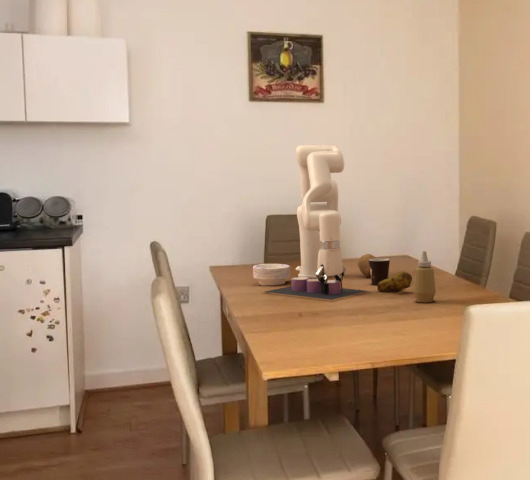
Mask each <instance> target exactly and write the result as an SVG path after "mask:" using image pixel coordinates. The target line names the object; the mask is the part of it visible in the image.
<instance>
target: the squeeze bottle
mask: <svg viewBox="0 0 530 480" xmlns="http://www.w3.org/2000/svg"><path fill="white" fill-rule="evenodd" d="M436 292H437V289H436V281H435V270H434V268H433V267H432V261H431V260H429V259H428V254H427V251H426V250H423V251H422V253H421V257H420V260H418V261H417V267H416V268H415V270H414V282H413V294H414V298H415V301H416V302H418V303H423V304H425V303H432V302H434V298H435V295H436Z"/></svg>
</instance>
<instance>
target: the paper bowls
mask: <svg viewBox="0 0 530 480" xmlns="http://www.w3.org/2000/svg"><path fill="white" fill-rule="evenodd" d="M252 277H253V279H255V280H257V282H258V283H259V285H260V286H279V285H285V283H286V282H287V279H290V278H291V265H289V264H285V263H261V264H255V265H253V266H252Z"/></svg>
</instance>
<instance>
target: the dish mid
mask: <svg viewBox="0 0 530 480" xmlns="http://www.w3.org/2000/svg"><path fill="white" fill-rule="evenodd" d="M306 285H307V292H309V293H321V283H320V281H319V280H318V278H310V279H308V280H306Z"/></svg>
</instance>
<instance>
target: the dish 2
mask: <svg viewBox="0 0 530 480" xmlns="http://www.w3.org/2000/svg"><path fill="white" fill-rule="evenodd" d="M341 281H342V280H341ZM341 281H338V280H336V279H328V281H327V283H328V289H329V293H328V294H326V295H334V294H340V293H341Z"/></svg>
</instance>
